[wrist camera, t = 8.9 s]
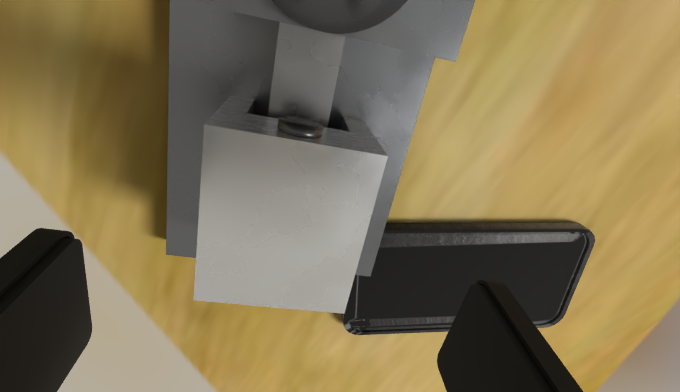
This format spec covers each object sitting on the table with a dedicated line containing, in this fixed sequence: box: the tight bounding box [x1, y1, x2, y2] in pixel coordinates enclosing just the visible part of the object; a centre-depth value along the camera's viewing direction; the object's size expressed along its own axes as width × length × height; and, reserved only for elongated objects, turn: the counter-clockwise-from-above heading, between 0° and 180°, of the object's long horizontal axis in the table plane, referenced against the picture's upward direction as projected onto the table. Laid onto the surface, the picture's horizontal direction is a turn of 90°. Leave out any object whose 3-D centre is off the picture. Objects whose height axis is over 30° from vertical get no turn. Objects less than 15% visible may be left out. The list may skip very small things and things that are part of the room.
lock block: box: [194, 96, 388, 314], centre depth 15 cm, size 6×7×5 cm
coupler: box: [166, 0, 475, 276], centre depth 14 cm, size 16×11×9 cm
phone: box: [342, 223, 595, 335], centre depth 23 cm, size 8×1×15 cm
